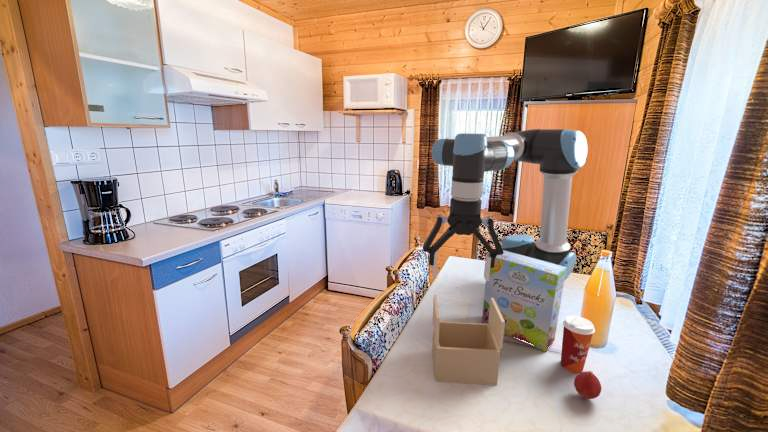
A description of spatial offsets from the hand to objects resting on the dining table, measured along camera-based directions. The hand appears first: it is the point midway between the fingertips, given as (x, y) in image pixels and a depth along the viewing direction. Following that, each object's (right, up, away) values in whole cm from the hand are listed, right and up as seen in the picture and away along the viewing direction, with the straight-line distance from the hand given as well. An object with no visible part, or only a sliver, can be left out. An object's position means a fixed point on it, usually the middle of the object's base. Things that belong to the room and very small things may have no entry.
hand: (460, 277), depth 91 cm
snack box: (+23, -22, +22) cm, 39 cm away
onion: (+30, -29, -4) cm, 42 cm away
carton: (+2, -26, +6) cm, 27 cm away
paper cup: (+33, -26, +7) cm, 43 cm away
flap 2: (+10, -12, +2) cm, 16 cm away
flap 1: (-5, -12, +3) cm, 13 cm away
